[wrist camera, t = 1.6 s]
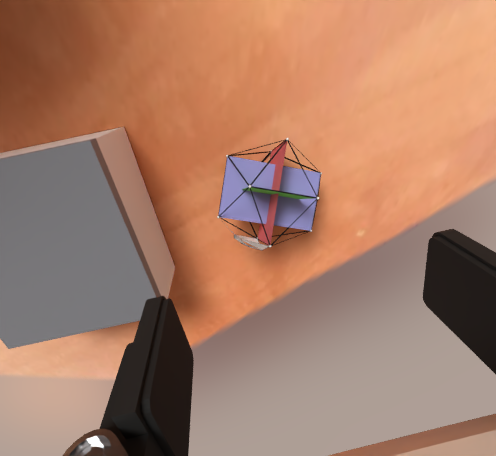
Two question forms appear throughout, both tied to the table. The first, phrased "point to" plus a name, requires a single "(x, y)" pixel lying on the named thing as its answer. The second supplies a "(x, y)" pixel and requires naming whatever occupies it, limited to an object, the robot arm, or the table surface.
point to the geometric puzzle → (269, 195)
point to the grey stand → (76, 239)
